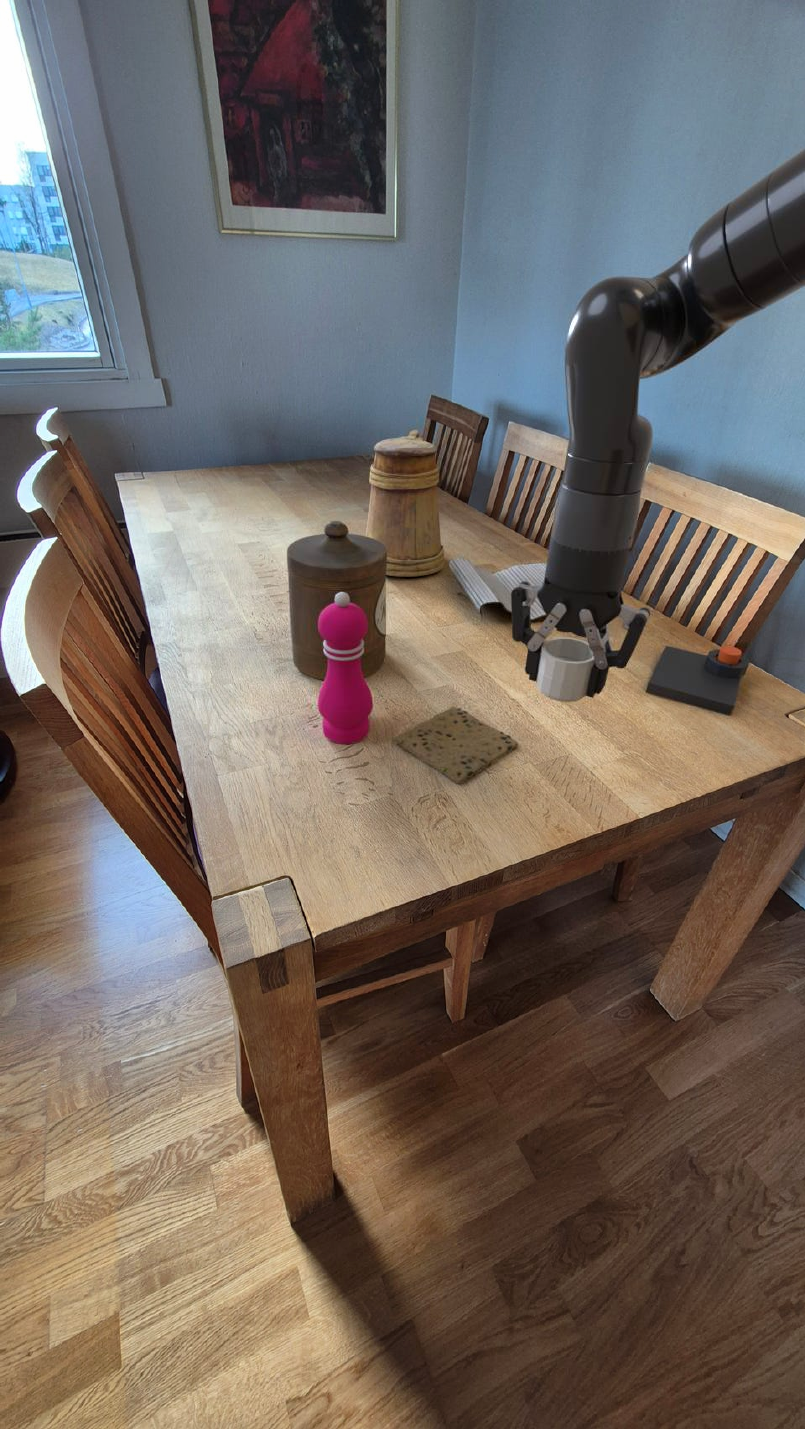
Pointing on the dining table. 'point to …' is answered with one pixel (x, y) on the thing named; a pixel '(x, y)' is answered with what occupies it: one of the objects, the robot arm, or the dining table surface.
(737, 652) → the button
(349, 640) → the pepper mill
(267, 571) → the dining table surface
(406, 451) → the tankard
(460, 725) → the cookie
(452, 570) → the mat
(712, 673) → the scale
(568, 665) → the white cup
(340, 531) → the wooden container
